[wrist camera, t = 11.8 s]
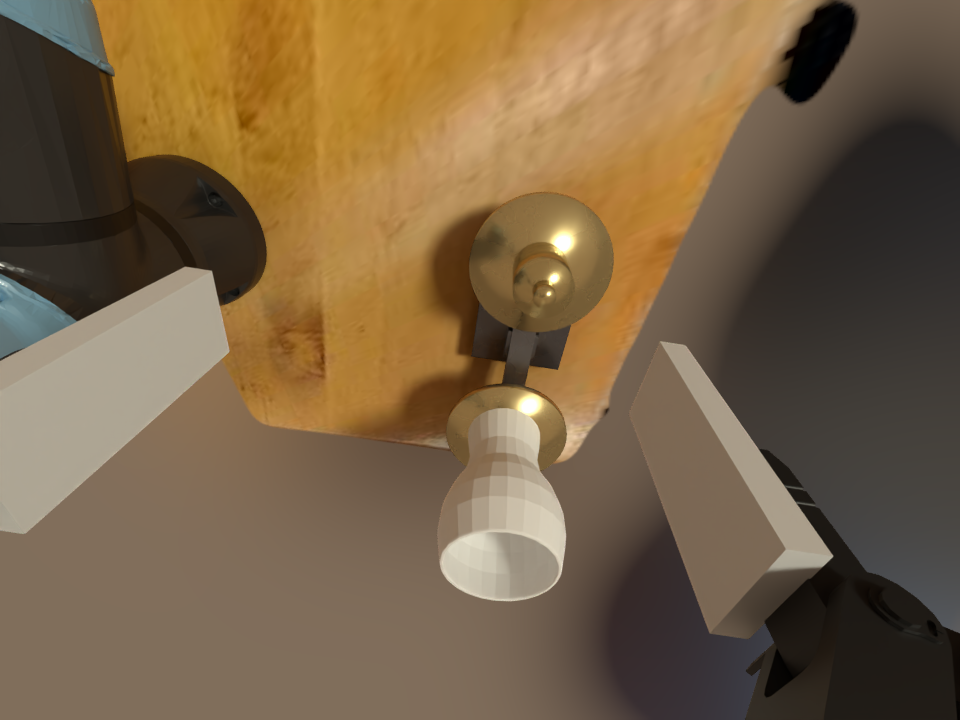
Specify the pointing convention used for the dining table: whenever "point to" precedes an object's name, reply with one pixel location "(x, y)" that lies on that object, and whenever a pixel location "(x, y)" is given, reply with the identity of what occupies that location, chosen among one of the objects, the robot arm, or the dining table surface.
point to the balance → (531, 305)
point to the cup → (502, 514)
